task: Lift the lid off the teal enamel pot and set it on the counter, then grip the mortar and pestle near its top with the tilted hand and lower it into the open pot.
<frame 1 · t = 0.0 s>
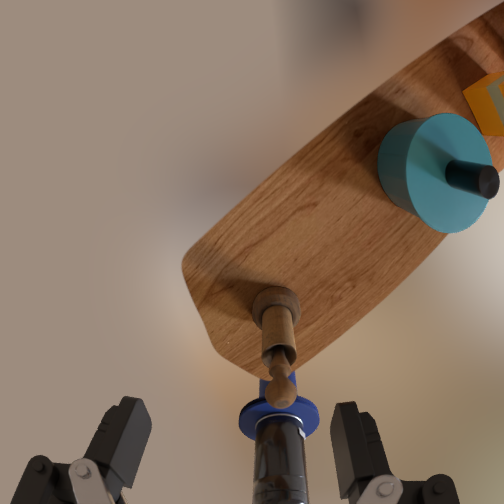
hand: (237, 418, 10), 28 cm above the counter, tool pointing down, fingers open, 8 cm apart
lid: (452, 173, 25), point 8 cm above the counter, touching pot
orange juice: (485, 103, 28), on the counter
mortar and pestle: (276, 305, 41), on the counter
pot: (417, 166, 33), on the counter
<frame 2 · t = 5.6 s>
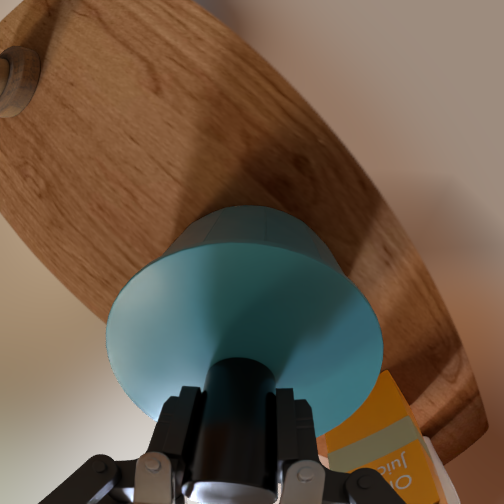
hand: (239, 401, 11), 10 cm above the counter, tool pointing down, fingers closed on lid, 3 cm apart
lid: (241, 374, 13), point 9 cm above the counter, touching gripper, pot
drinking glass: (411, 443, 29), on the counter
orange juice: (368, 405, 25), on the counter
mortar and pestle: (19, 82, 15), on the counter
pot: (249, 292, 21), on the counter
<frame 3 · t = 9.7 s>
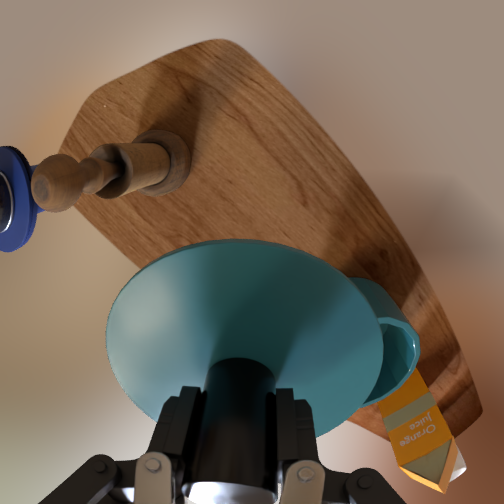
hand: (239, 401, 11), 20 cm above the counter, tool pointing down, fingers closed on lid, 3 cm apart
lid: (241, 374, 13), point 19 cm above the counter, touching gripper
drinking glass: (426, 420, 41), on the counter
orange juice: (401, 389, 38), on the counter
mortar and pestle: (161, 161, 28), on the counter
pot: (345, 323, 33), on the counter
when the fingers open (2 cm above the counter, at t = 13.9 s): lid stays where it is, point 1 cm above the counter.
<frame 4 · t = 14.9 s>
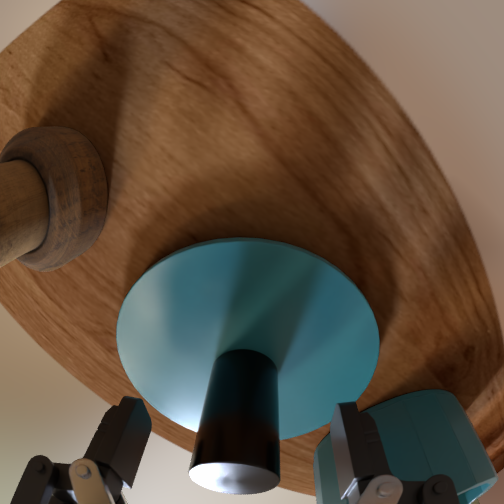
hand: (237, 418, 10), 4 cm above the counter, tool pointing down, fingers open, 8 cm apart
lid: (245, 366, 14), point 1 cm above the counter
mortar and pestle: (60, 192, 12), on the counter
pot: (390, 441, 17), on the counter
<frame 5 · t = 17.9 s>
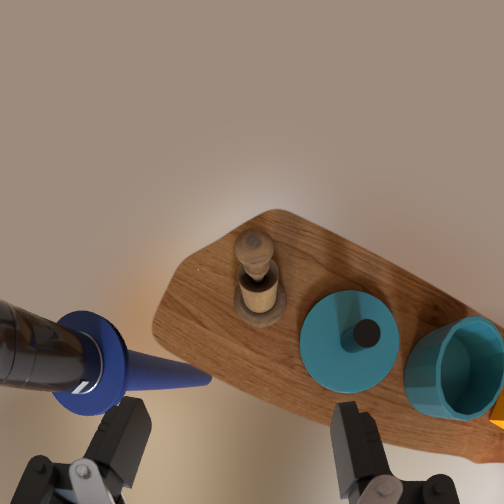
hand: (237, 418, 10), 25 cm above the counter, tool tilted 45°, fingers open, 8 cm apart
lid: (351, 341, 34), point 1 cm above the counter
mortar and pestle: (260, 303, 37), on the counter
pot: (440, 373, 31), on the counter
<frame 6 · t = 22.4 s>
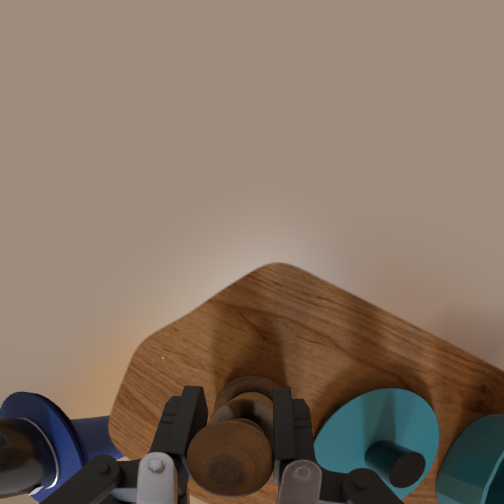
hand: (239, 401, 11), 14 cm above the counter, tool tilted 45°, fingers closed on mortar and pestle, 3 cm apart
lid: (378, 454, 20), point 1 cm above the counter
mortar and pestle: (253, 410, 23), on the counter, touching gripper
pot: (477, 464, 17), on the counter
when the fingers open (14 cm above the counter, at t = 31.9 s): mortar and pestle stays where it is, resting on pot.
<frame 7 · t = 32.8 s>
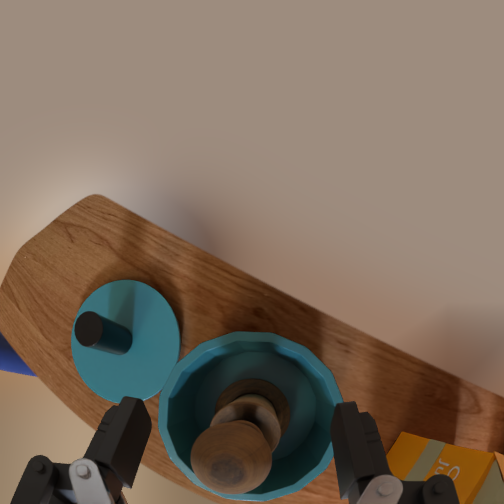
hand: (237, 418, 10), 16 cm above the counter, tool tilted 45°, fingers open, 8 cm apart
lid: (121, 340, 27), point 1 cm above the counter
orange juice: (409, 472, 19), on the counter
mortar and pestle: (253, 411, 24), resting on pot
pot: (255, 409, 24), on the counter
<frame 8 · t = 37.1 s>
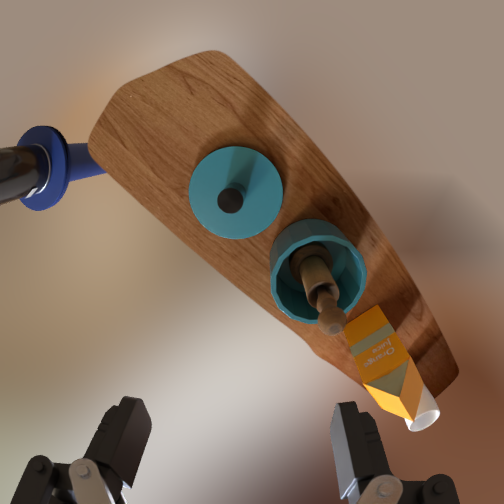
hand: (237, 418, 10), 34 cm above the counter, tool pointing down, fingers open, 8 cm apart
lid: (235, 193, 41), point 1 cm above the counter
drinking glass: (400, 370, 52), on the counter
orange juice: (369, 330, 49), on the counter
mortar and pestle: (309, 260, 44), resting on pot
pot: (310, 258, 44), on the counter
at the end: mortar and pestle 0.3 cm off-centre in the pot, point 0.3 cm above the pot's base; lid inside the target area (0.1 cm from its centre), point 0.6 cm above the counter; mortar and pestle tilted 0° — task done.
